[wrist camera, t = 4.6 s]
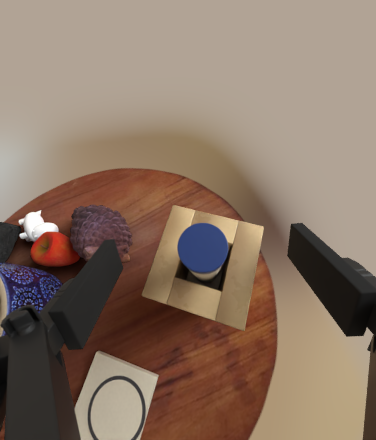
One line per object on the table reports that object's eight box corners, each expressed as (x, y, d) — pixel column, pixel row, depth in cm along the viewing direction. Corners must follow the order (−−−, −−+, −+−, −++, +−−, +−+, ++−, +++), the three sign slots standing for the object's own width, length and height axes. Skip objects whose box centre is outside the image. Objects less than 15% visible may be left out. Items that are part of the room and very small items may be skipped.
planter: (51, 252, 41) (-29, 231, 27) (101, 312, 36) (33, 324, 22) (-19, 319, 38) (-151, 333, 24) (25, 394, 33) (-109, 468, 19)
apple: (63, 277, 39) (23, 270, 33) (62, 249, 42) (25, 238, 36) (89, 263, 38) (54, 253, 32) (86, 236, 41) (54, 222, 35)
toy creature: (16, 245, 37) (52, 233, 38) (14, 210, 40) (47, 200, 42) (33, 252, 41) (65, 241, 42) (30, 220, 44) (59, 211, 46)
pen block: (233, 263, 37) (264, 226, 17) (223, 308, 35) (244, 331, 14) (191, 252, 39) (172, 204, 18) (179, 294, 36) (140, 295, 16)
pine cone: (63, 236, 42) (47, 195, 36) (109, 220, 48) (102, 182, 42) (96, 298, 32) (84, 257, 26) (149, 269, 38) (149, 229, 32)
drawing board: (158, 374, 32) (157, 377, 31) (128, 480, 28) (125, 487, 27) (99, 350, 34) (95, 352, 33) (63, 445, 30) (57, 450, 29)
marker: (220, 262, 24) (233, 229, 12) (214, 287, 23) (221, 279, 11) (197, 255, 24) (185, 217, 12) (190, 279, 23) (170, 264, 11)
